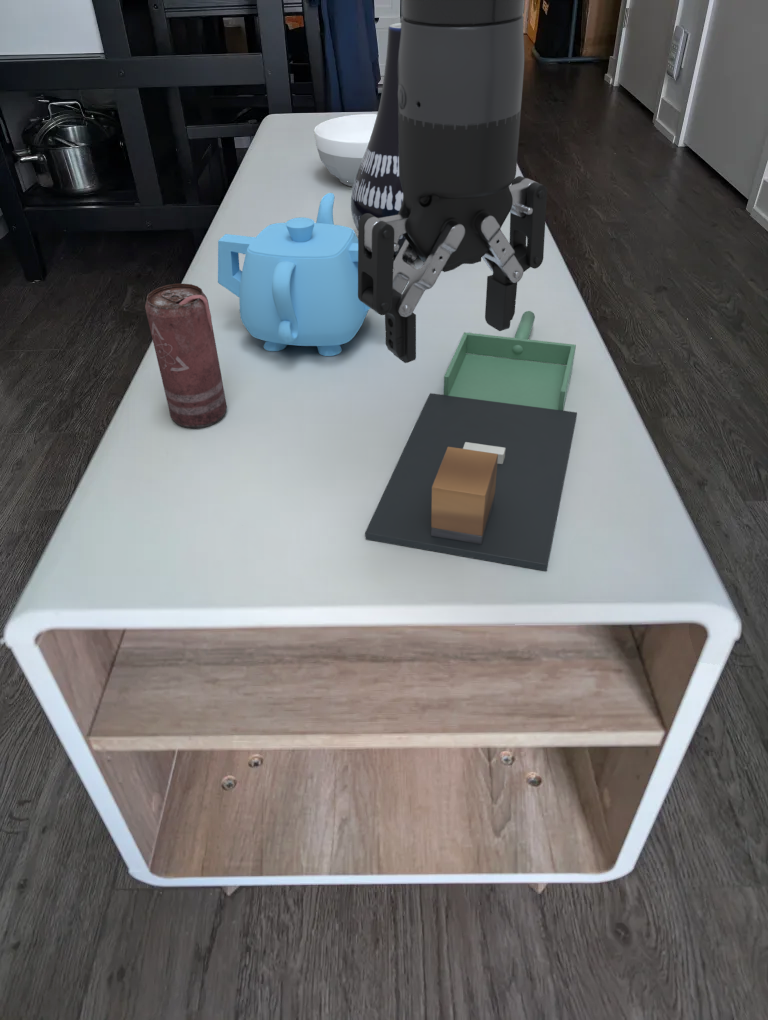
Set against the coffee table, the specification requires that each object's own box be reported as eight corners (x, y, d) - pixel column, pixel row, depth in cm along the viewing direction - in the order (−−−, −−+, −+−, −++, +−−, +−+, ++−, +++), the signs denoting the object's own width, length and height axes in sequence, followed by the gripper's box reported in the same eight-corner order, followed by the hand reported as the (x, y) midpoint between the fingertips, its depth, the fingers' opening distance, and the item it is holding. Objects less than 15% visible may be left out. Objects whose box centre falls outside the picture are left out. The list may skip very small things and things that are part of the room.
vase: (477, 242, 122) (488, 19, 103) (423, 280, 112) (424, 41, 93) (390, 223, 129) (386, 11, 110) (332, 257, 119) (316, 30, 100)
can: (225, 429, 85) (202, 307, 76) (165, 430, 85) (136, 308, 76) (233, 398, 89) (213, 280, 80) (177, 400, 89) (150, 281, 80)
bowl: (307, 169, 152) (303, 120, 146) (401, 158, 156) (400, 109, 150) (332, 201, 138) (328, 147, 133) (434, 187, 142) (435, 135, 137)
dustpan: (562, 415, 85) (565, 391, 83) (443, 399, 88) (444, 376, 86) (580, 332, 99) (583, 310, 97) (477, 321, 102) (478, 300, 100)
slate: (546, 571, 67) (547, 564, 66) (365, 539, 71) (364, 532, 70) (576, 418, 84) (577, 411, 84) (429, 399, 88) (429, 392, 88)
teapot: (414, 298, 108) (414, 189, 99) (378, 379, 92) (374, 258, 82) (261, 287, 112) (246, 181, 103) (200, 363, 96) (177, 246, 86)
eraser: (481, 545, 68) (485, 495, 65) (430, 536, 70) (431, 486, 66) (494, 502, 73) (498, 453, 69) (446, 494, 74) (447, 446, 70)
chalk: (502, 464, 77) (503, 454, 76) (462, 458, 78) (462, 448, 77) (504, 457, 78) (505, 447, 77) (464, 451, 79) (465, 441, 78)
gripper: (394, 136, 43) (398, 392, 54) (589, 96, 49) (559, 335, 59) (327, 108, 48) (343, 348, 59) (511, 75, 54) (496, 299, 64)
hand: (451, 341), depth 59 cm, fingers open, 8 cm apart
